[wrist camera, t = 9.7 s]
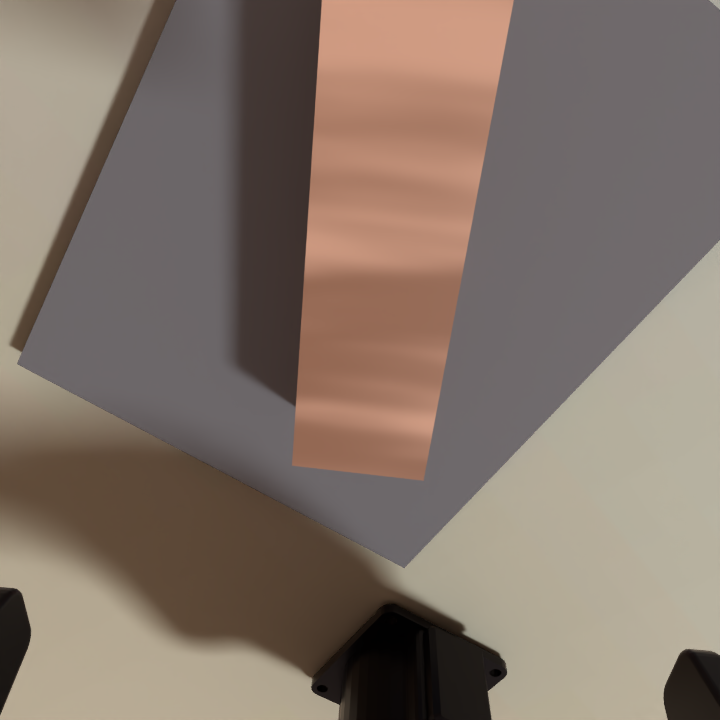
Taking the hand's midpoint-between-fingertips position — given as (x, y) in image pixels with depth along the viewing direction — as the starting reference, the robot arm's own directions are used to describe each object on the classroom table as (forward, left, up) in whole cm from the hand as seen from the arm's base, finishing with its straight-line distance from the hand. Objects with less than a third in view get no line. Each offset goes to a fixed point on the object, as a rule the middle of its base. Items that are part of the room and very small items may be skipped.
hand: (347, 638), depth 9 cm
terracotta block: (-4, -2, -11) cm, 12 cm away
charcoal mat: (+1, +1, -13) cm, 13 cm away
